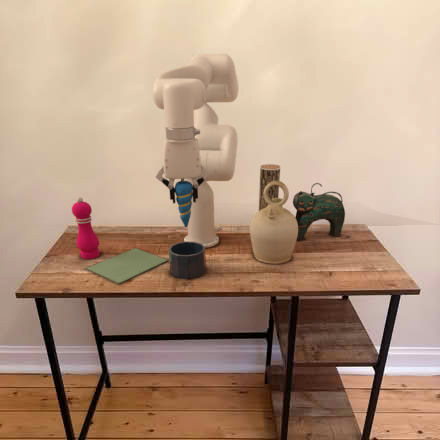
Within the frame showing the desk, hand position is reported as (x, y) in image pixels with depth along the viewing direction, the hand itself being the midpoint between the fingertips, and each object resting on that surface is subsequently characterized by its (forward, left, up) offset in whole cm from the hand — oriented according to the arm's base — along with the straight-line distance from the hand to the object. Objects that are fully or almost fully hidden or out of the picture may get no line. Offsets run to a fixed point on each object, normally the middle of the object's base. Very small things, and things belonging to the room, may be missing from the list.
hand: (184, 200), depth 115 cm
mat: (+9, -18, -22) cm, 30 cm away
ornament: (0, 0, -8) cm, 8 cm away
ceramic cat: (-49, +18, -22) cm, 57 cm away
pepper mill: (+12, -34, -22) cm, 42 cm away
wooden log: (-40, +3, -22) cm, 46 cm away
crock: (0, 0, -22) cm, 22 cm away
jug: (-25, +15, -22) cm, 37 cm away
